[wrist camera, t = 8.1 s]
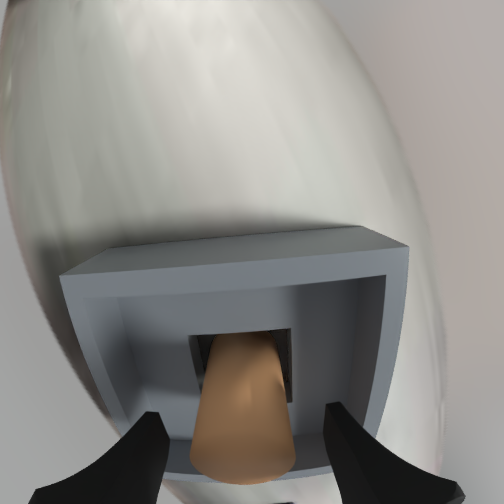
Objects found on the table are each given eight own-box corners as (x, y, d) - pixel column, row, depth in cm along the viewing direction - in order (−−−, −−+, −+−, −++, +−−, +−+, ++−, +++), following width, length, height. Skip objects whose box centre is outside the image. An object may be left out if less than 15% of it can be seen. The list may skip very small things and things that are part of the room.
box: (347, 415, 18) (366, 464, 13) (161, 427, 18) (147, 476, 13) (362, 226, 15) (409, 246, 10) (108, 248, 15) (59, 275, 10)
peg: (279, 375, 17) (295, 480, 9) (216, 380, 17) (201, 484, 9) (275, 320, 16) (296, 426, 8) (205, 326, 16) (177, 432, 8)
